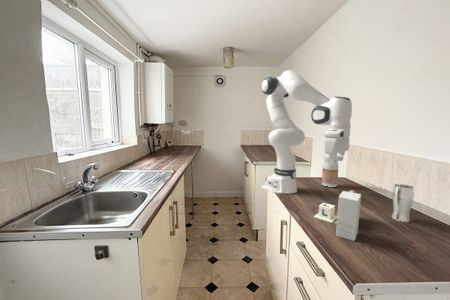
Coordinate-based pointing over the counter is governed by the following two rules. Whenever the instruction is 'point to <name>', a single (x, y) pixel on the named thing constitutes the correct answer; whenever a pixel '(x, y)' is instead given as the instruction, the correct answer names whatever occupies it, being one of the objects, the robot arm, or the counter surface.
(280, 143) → the robot arm
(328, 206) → the lettered cube
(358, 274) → the counter surface
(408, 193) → the beer glass
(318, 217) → the pad
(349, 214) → the skincare box
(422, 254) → the counter surface
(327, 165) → the fruit juice
